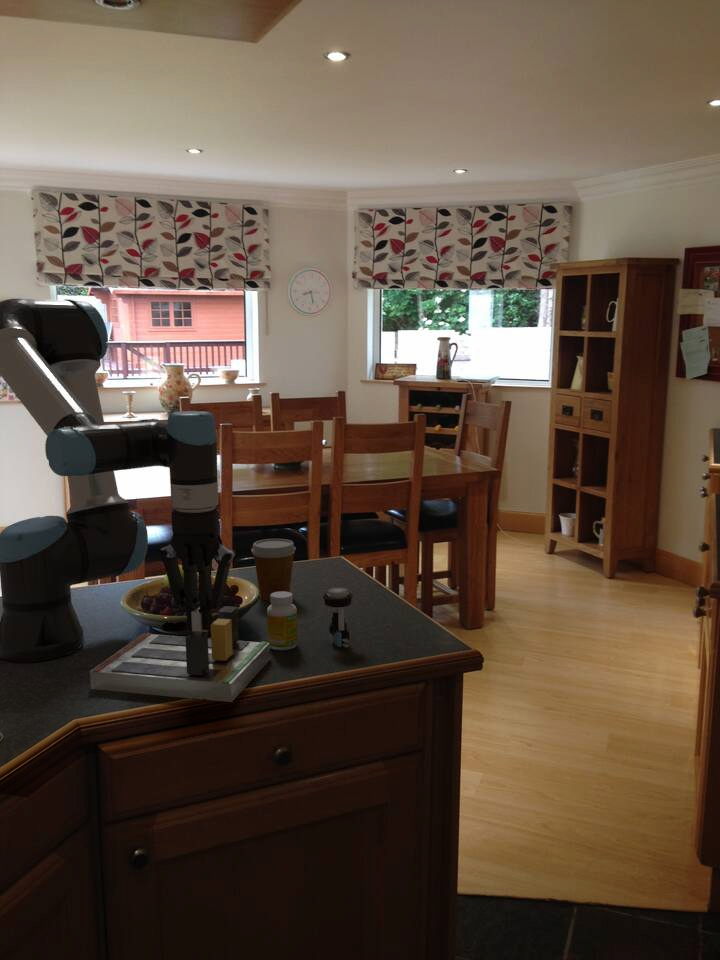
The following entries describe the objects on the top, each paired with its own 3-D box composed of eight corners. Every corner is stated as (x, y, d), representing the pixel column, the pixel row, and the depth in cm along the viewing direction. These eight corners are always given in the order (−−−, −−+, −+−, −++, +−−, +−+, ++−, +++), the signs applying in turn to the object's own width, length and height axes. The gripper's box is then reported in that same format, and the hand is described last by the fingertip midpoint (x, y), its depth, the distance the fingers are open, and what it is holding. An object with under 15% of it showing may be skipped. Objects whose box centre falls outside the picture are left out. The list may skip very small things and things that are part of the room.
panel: (90, 689, 135) (87, 632, 134) (143, 649, 153) (141, 598, 151) (231, 702, 130) (229, 643, 128) (270, 659, 147) (268, 607, 146)
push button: (360, 647, 153) (360, 594, 151) (333, 652, 150) (332, 598, 149) (346, 636, 159) (345, 584, 157) (319, 640, 156) (318, 588, 155)
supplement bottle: (289, 652, 150) (288, 600, 149) (262, 649, 152) (261, 597, 151) (302, 642, 155) (301, 591, 154) (275, 639, 157) (274, 588, 156)
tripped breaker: (212, 659, 138) (210, 624, 137) (219, 653, 141) (217, 618, 140) (225, 660, 137) (224, 625, 136) (232, 654, 140) (231, 619, 139)
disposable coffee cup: (253, 591, 187) (251, 538, 185) (296, 589, 188) (294, 537, 186) (252, 604, 178) (250, 549, 176) (297, 602, 179) (296, 547, 177)
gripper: (147, 510, 134) (153, 652, 138) (224, 514, 131) (229, 658, 135) (167, 502, 141) (173, 637, 145) (241, 504, 138) (245, 642, 142)
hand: (200, 647), depth 140 cm, fingers closed
